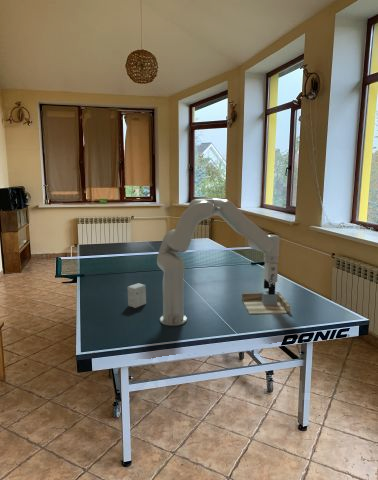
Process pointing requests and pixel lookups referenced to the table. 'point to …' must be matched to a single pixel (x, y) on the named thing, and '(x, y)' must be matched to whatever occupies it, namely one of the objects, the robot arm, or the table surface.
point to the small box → (136, 295)
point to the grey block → (269, 298)
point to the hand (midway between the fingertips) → (269, 291)
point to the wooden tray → (256, 307)
